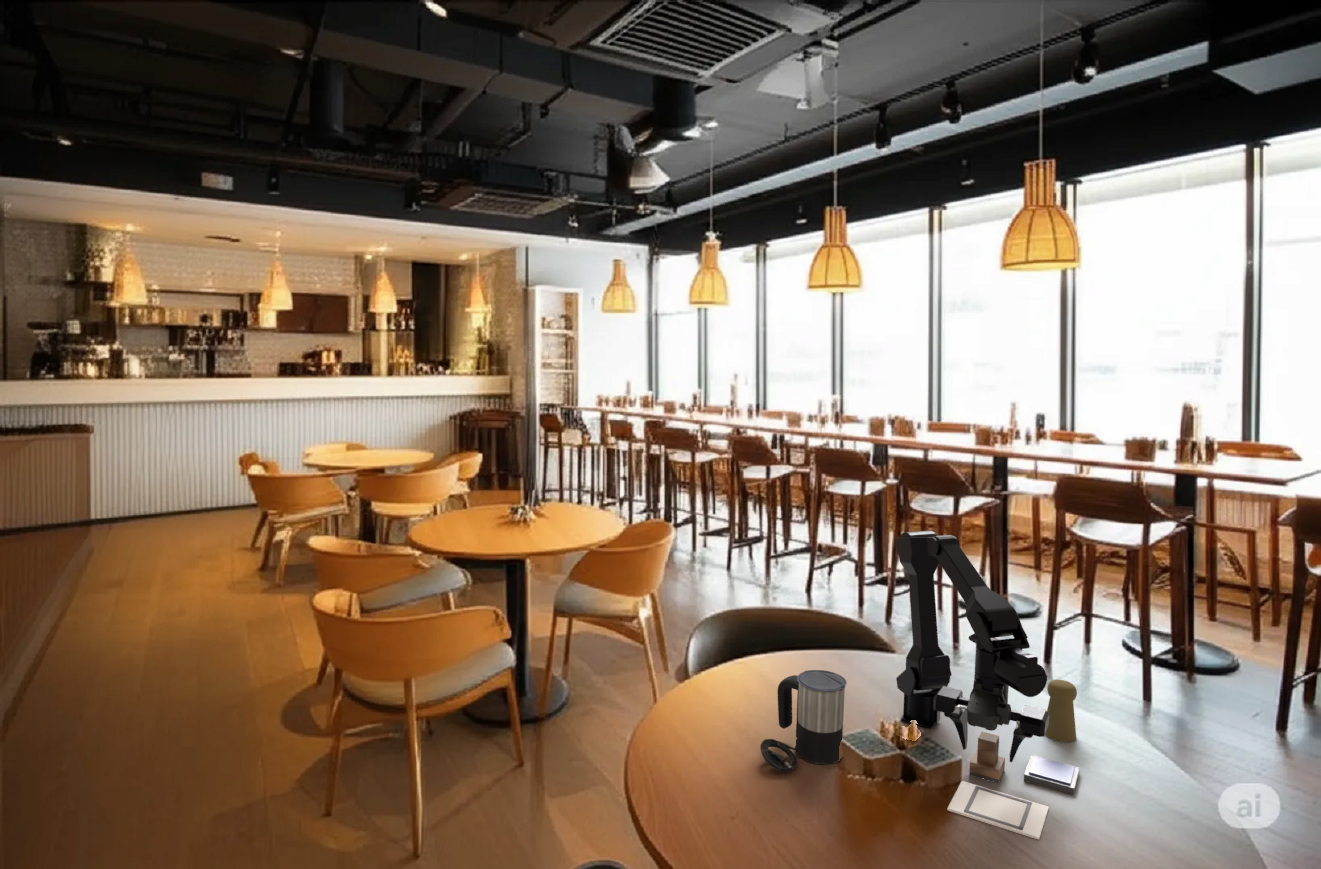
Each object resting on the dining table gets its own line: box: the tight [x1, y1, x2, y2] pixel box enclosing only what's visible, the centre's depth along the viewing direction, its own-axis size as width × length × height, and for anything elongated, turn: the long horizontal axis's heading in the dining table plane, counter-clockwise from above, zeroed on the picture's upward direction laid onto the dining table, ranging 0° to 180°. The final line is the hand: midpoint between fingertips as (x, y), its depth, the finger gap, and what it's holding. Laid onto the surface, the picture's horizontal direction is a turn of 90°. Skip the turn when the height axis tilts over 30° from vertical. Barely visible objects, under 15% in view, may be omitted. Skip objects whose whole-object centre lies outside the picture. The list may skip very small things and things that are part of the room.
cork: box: [1044, 679, 1078, 743], centre depth 155 cm, size 6×6×11 cm
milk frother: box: [759, 669, 848, 773], centre depth 146 cm, size 14×16×15 cm
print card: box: [947, 780, 1050, 841], centre depth 131 cm, size 14×10×1 cm
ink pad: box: [1023, 754, 1080, 796], centre depth 140 cm, size 8×8×2 cm
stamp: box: [969, 731, 1006, 784], centre depth 142 cm, size 5×5×7 cm
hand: (987, 754), depth 142 cm, fingers open, 8 cm apart
